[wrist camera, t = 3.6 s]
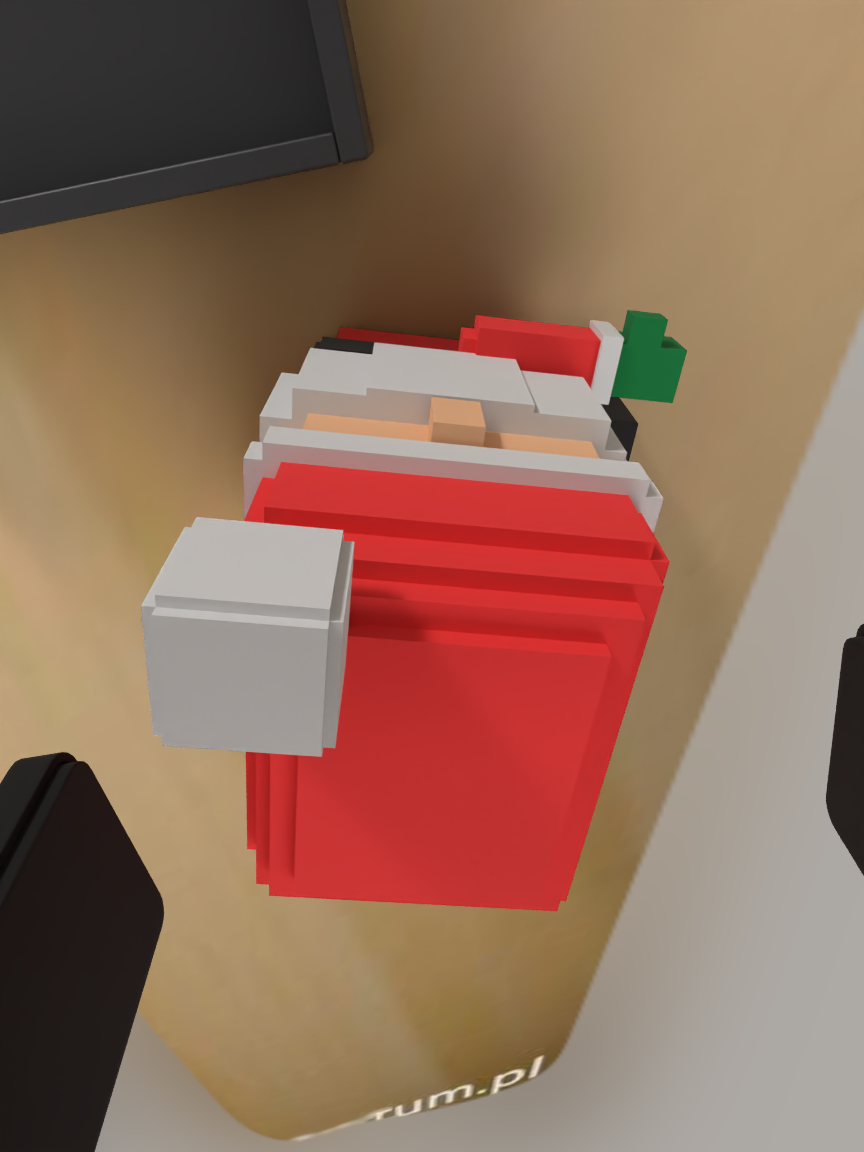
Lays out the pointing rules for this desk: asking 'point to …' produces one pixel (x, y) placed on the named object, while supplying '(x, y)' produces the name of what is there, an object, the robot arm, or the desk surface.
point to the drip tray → (169, 100)
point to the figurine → (425, 609)
